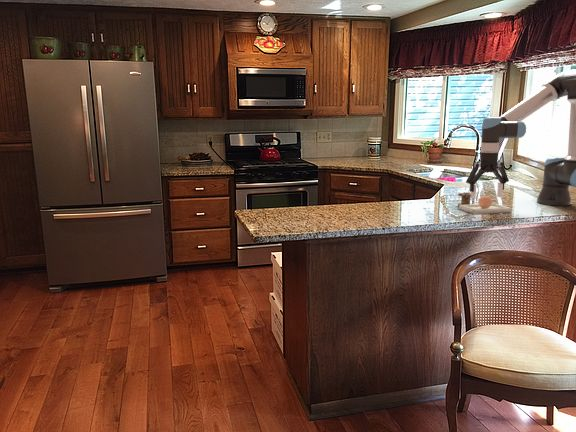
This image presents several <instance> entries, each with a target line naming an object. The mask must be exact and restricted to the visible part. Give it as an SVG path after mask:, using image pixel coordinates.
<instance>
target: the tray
mask: <svg viewBox="0 0 576 432" xmlns="http://www.w3.org/2000/svg"><path fill="white" fill-rule="evenodd" d="M458 209H459V210H461V211H464V212H465V213H469V214H473V215H478V214H479V215H480V214H481V215H482V214H500V213H503V214H504V213H505V214H506V213H511V212H512V208H511V207H509V206H507V205H506V206H505V205H502V204H498V203H493V202H492V205H491V206H490V207H489V208H486V209H484V208H481V207H480V206H479V204H478V203H473V204H472V203H470V204H466V205H459V206H458Z"/></svg>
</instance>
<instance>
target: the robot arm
mask: <svg viewBox="0 0 576 432" xmlns="http://www.w3.org/2000/svg"><path fill="white" fill-rule="evenodd" d="M563 97H567V99H566V100H567V101H568V102H569V103H570V111H569V112H570V113H569V127H568V128H569V129H568V145H567V150H568V151H567V155H565V157H549V158H547V159H546V160H545V161H544V165H543V167H544V169H543V176H542V177H543V179H542V187H541V189H540V191H539V195H538V196H537V198H536V203H538V204H542V205H547V206H554V207H555V206H557V207H558V206H559V207H560V206H561V207H562V206H563V207H565V206H571V204H572V199H571V195H570V189H569V187H570V186H571V187H573V188H576V68H575V69H567V70H564V71H563V72H560V73H558V74H557V75H555V76H554V77H552V78H550V79H549V80H548V81H546V82H544V83H543V84H542V85H541V88H540V89H538V90H537V91H535V92H534V93H532V94H531V95H529V96H528V97H527V98H526V99H524V100H522V101H521V102H519V103H518V104H516V105H515V106H514V107H512V108H511V109H509V110H508V111H506V112H505V113H504V114H502V115H500V116H498V117H484V118H483V120H482V126H481V144H480V151H481V152H480V154H479V155H480V157H479V160H480V162H479V163H478V162H474V163H473V167H472V169H471V170H470V173H469V175H468V177H467V179H466V180H465V183H466V184H469V192H470V193H471V197H470V199H472V200H476V198H477V197H476V196H477V195H476V194H477V193H476V192H477V184H476V183H477V182H478V181H479V179H480V178H481V177H482V176H483V174H486V173H493V175H494V176H495V177H496V179H497V181H498V182H497V192H496V197H497V198H501V199H502V198H503V193H504V192H503V190H504V189H505V184H507V183H508V182H509V180H510V179H509V177H508V174H507V172H506V169H505V166H504V165H505V164H504V162H503V161H498V160H499V150H500V139H519V138H523V137H524V136H525V135H526V133H527V125H526V123H525V122H524V121H523V120H525V119H526V118H528V117H530V116H531V115H533V114H534V113H535V112H537V111H538V110H539V109H541V108H542V107H544V106H545V105H547V104H549V103H550V102H555V101H557V100H558V99H560V98H563ZM497 168H498V169H497Z"/></svg>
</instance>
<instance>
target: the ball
mask: <svg viewBox="0 0 576 432" xmlns="http://www.w3.org/2000/svg"><path fill="white" fill-rule="evenodd" d="M477 204H479V206H480V207H481V208H484V209H486V208H489V207H490V206H491V205H492V204H493V200H492V198H491V197H490V196H488V195H482V196H480V198H478V201H477Z"/></svg>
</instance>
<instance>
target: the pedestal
mask: <svg viewBox="0 0 576 432" xmlns="http://www.w3.org/2000/svg"><path fill="white" fill-rule="evenodd" d="M457 196H459V197H461V199H460V200H461V201H460V203H459V202H458V203H457V207H459V205H466V204H471V192H458V195H457Z"/></svg>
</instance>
